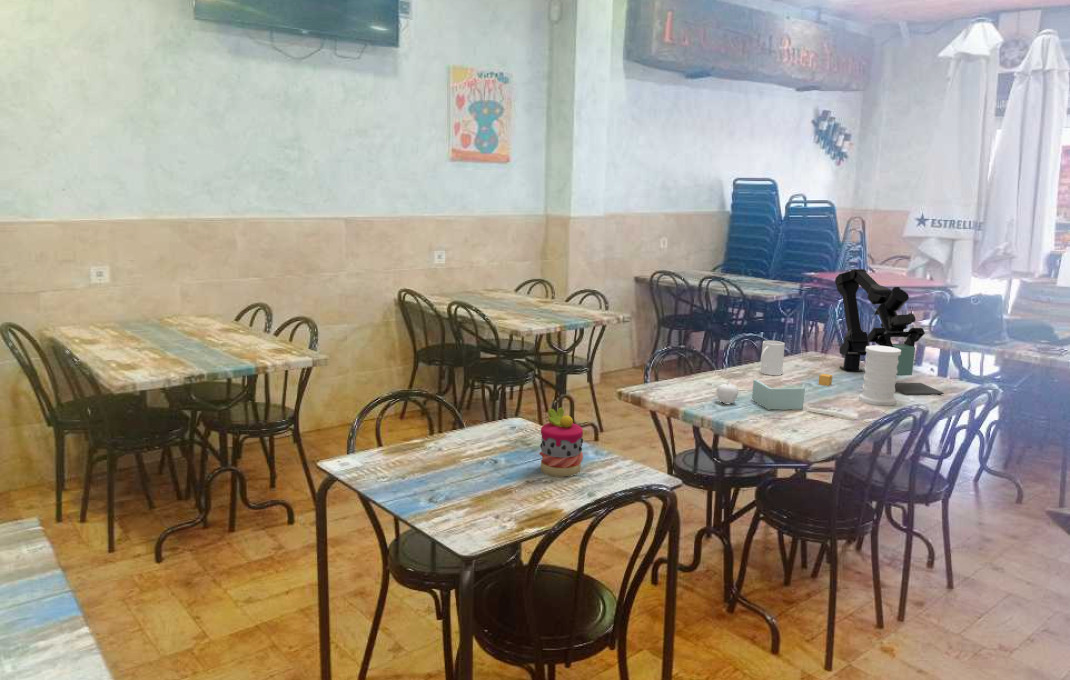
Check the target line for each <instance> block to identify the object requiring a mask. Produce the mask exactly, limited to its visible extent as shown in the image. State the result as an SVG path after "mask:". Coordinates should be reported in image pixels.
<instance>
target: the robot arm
mask: <svg viewBox="0 0 1070 680" xmlns="http://www.w3.org/2000/svg"><path fill="white" fill-rule="evenodd" d="M834 284H835V285H836V290H837V292H838V293H839V294H840V295H841V296H842V301H843V308H844V309H843V310H844V314H845V315H844V316H845V323H846V328H847V329H846V330H847V331H846V334H845V336H844V339H843V341H844V342H843V343H842V344H841V345H840V347H839V350H838V351H839V354H840V355H843V356H844V359H843V366H839V368H840V369H841V370H843V371H845V372H863V369H861V368H860V365H861V364H860V363H861V356H864V357H865V356H866V357H867V352H866V351H865V350H866V346H870V344H869V343H875V345H876V344H877V345H878V346H888V347H893V345H892V344H893V343H892V341H891V340H892V339H891V338H904V339H905V341H904V342H903V344H907V345H910V346H913V347H915V344H916V342H919V341H920V339H921V338H923V336H924V335H925V334H926V332H925V330H924V328H923V327H910V328H909V330H907V331H905V330H906V329H907V328H908V326H909V325H912V324H913V323H916V317H915V314H914V313H912V312H911V313H908V314H907V313H906V314H898V313H897V311H899V310H901V309H902V307H903V306H904V305H905V304H906V303H907V301H908V300H909V298H910V297H909V294H908V293H907V292H906V291H905V290H903V289H901V288H900V286H894V287H893V288H891V289H890V288H888V287H886V286H883V285H880V284H879V283H878V282H877V281H876V280H874V278H872V277H871V276H870V275H869V274H868V273H867V270H866V269H863V268H853V269H851V270H849V271H845V272H841V273H839V274H837V276H836V277H835V279H834ZM860 287H861V288H862V289H863V290H864V292H866V293H867V299H868V301H869V302H870V304H871V305H878V307H876V310H875V311H874V315H875V316H879V318H880V321H881V323H880V327H873V328H872V329H871V331H870V332H869V333H867V331H863V329H862V327H861V321H860V313H859V307H858V300H857V292H858V290H859V288H860Z"/></svg>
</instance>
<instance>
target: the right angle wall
mask: <svg viewBox="0 0 1070 680" xmlns="http://www.w3.org/2000/svg"><path fill="white" fill-rule="evenodd" d="M752 383H753V384H752V392H751V393H752V394H751V395H752V396H751V400H752V399H753V400H754V401H756V402H757V404H758V403H759V404H761V405H762V406H764V407H765V408H764V407H763V408H764V409H766V408H767V409H792V410H804V403H805V392H806V391H805V390H806V388H805V387H780V388H777V387H776V388H774V387H773V388H771V387H770V386H769V385H766V384H765V383H763V382H761V381H760V380H758V379H753V382H752ZM753 400H752V401H753ZM754 401H753V402H754ZM756 402H755V403H756ZM759 404H758V405H759ZM761 405H760V406H761ZM762 406H761V407H762ZM767 409H766V410H767Z"/></svg>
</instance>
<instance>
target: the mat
mask: <svg viewBox="0 0 1070 680" xmlns="http://www.w3.org/2000/svg"><path fill="white" fill-rule="evenodd" d="M895 392H898V393H900V394H903V395H904V396H932V395H931V394H944V392H943V391H941V390H938V389H936V388H933V387H931V386H929V385H927V384H925V383H923V382H896V384H895Z"/></svg>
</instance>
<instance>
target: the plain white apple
mask: <svg viewBox="0 0 1070 680" xmlns="http://www.w3.org/2000/svg"><path fill="white" fill-rule="evenodd" d="M730 381H731V379H728V381H727V383H723V384H719V385H718V386H717V387H716V391H715V392H716V396H717V399H718V401H719V402H720V401H721V402H724V403H732V404H733V403H734V402H735V401H736V399H737V397H738V395H739V389H738V387H737V385H735V384H733V383H730ZM721 402H720V403H721Z"/></svg>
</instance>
